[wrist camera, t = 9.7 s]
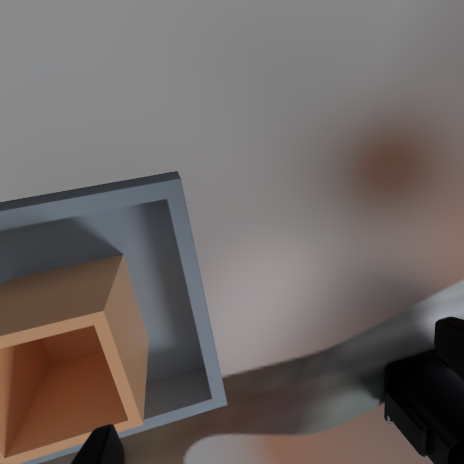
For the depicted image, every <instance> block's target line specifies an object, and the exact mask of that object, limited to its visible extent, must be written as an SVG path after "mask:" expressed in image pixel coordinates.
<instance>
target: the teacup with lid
mask: <svg viewBox="0 0 464 464" xmlns="http://www.w3.org/2000/svg"><path fill="white" fill-rule="evenodd" d="M78 452H79V451H77V452H74V453H71V454H68V455H64V456H61V457H58V458H55V459H52V460H48V461H45V462H42V463H39V464H70V463H71V462H72V460H73V459H74V458H75V456H76V455H77V453H78Z"/></svg>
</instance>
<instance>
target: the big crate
mask: <svg viewBox="0 0 464 464" xmlns="http://www.w3.org/2000/svg"><path fill="white" fill-rule="evenodd" d="M122 254H123V255H124V258H125V261H126V265H127V268H128V271H129V275H130V278H131V281H132V285H133V288H134V292H135V295H136V298H137V302H138V305H139V308H140V312H141V315H142V318H143V322H144V325H145V329H146V332H147V335H148V339H149V347H148V361H147V376H146V390H145V404H144V418H143V425H141V426H138V427H135V428H132V429H128V430H125V431H122V432H119V433H117V434H118V436H119V438H122V437H125V436H129V435H132V434H135V433H138V432H142V431H145V430H148V429H151V428H154V427H158V426H161V425H164V424H167V423H170V422H174V421H177V420H180V419H183V418H186V417H190V416H193V415H196V414H199V413H203V412H206V411H209V410H212V409H215V408H219V407H222V406H225V405H227V401H226V396H225V391H224V387H223V382H222V377H221V372H220V367H219V363H218V357H217V353H216V348H215V343H214V338H213V333H212V329H211V324H210V319H209V314H208V309H207V304H206V299H205V294H204V290H203V285H202V280H201V275H200V270H199V265H198V260H197V256H196V251H195V246H194V241H193V236H192V231H191V226H190V222H189V217H188V212H187V207H186V202H185V197H184V192H183V188H182V183H181V178H180V176H179V174H178V172H177V171H176V172H170V173H164V174H159V175H153V176H148V177H142V178H136V179H130V180H125V181H119V182H114V183H108V184H102V185H97V186H91V187H86V188H79V189H75V190H68V191H62V192H57V193H51V194H46V195H40V196H34V197H29V198H23V199H18V200H12V201H6V202H0V287H1V286H2V285H3V284H4V283H5V282H6V281H8V280H9V279H12V278H17V277H21V276H26V275H31V274H35V273H40V272H44V271H49V270H53V269H58V268H63V267H67V266H72V265H76V264H81V263H85V262H90V261H95V260H99V259H104V258H108V257H113V256H117V255H122ZM83 444H84V443H83ZM83 444H80V445H77V446H74V447H71V448H67V449H64V450H61V451H58V452H55V453H51V454H48V455H45V456H42V457H38V458H35V459H32V460H29V461H26V462H22V463H19V464H39V463H42V462H45V461H48V460H52V459H55V458H58V457H61V456H64V455H68V454H71V453H74V452H77V451H79V450H80V449H81V447H82V446H83Z"/></svg>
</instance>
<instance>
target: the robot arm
mask: <svg viewBox="0 0 464 464" xmlns="http://www.w3.org/2000/svg"><path fill="white" fill-rule="evenodd" d="M434 345H435V348H436V349H435V350H432V351H429V352H426V353H422V354H419V355H416V356H413V357H410V358H407V359H404V360H400V361H397V362H394V363H391V364H389V365H388V366H387V367H386V372H385V414H384V418H385V420H386V421H387V422H388V423H389V424H392V423H394V424H395V425H396V426H397V428H398V429H399V430H400V431H401V432H402V434H403V435H404V436H405V437H406V439H407V440H408V441H409V442H410V443H411V445H412V446H413V447H414V448H415V449H416V451H417V452H418V453H419V454H420V455H421V456H423V457H425V456H428V457H429V458H430V460H431V461H432V462H433V463H434V464H464V320H463V319H459V318H455V317H446V318H443V319H440V320H438V321H437V322H436V323H435V337H434ZM70 464H124V449H123V446H122V443H121V441H120V438H119V436H118V434H117V431H116V429H115V427H114V425H113V424H107V425H104V426H101V427H98V428H96V429H94V430H93V431H92V433H91V434H90V435H89V437H88V438H87V440H86V441H85V443H84V444H83V446H82V447H81V449H80V450H79V452H78V453H77V455H76V456H75V458H74V459H73V460H72V462H71V463H70Z"/></svg>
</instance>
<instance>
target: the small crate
mask: <svg viewBox="0 0 464 464" xmlns="http://www.w3.org/2000/svg"><path fill="white" fill-rule="evenodd" d="M148 347H149V339H148V335H147V332H146V329H145V325H144V322H143V318H142V315H141V312H140V308H139V305H138V302H137V298H136V295H135V292H134V288H133V285H132V281H131V278H130V275H129V271H128V268H127V265H126V261H125V258H124V255H123V254H122V255H117V256H113V257H108V258H104V259H99V260H95V261H90V262H85V263H81V264H76V265H72V266H67V267H63V268H58V269H53V270H49V271H44V272H40V273H35V274H31V275H26V276H21V277H17V278H12V279H9V280H8V281H6V282H5V283H4V284H3V285H2V286H1V287H0V464H19V463H22V462H26V461H29V460H32V459H35V458H38V457H42V456H45V455H48V454H51V453H55V452H58V451H61V450H64V449H67V448H71V447H74V446H77V445H80V444H83V443H85V441H86V440H87V438H88V437H89V435H90V434H91V433H92V431H93V430H94V429H96V428H98V427H101V426H104V425H107V424H113V425H114V427H115V429H116V431H117V433H119V432H122V431H125V430H128V429H132V428H135V427H138V426H141V425H143V418H144V404H145V390H146V376H147V361H148Z"/></svg>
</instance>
